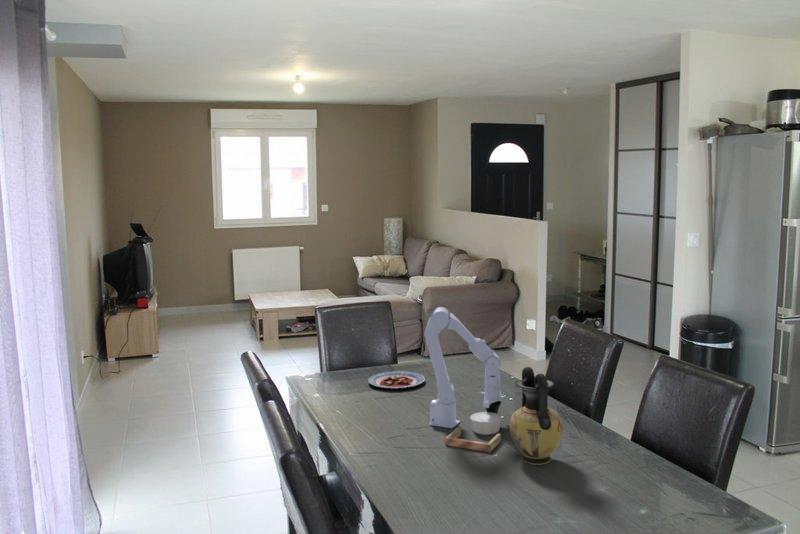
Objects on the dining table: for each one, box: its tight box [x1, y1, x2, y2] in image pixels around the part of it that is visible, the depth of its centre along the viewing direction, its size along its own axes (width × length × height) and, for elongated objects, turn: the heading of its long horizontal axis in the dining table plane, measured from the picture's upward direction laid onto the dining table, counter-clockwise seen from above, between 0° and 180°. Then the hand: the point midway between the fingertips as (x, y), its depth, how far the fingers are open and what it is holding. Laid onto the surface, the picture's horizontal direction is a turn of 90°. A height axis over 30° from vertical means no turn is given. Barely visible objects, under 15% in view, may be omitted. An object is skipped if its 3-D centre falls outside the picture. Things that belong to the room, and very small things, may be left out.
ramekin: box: [469, 411, 503, 436], centre depth 253 cm, size 11×11×5 cm
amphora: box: [509, 366, 564, 466], centre depth 225 cm, size 18×17×30 cm
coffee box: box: [514, 379, 522, 412], centre depth 257 cm, size 9×6×16 cm
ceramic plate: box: [367, 370, 426, 390], centre depth 316 cm, size 26×26×3 cm
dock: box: [444, 427, 502, 453], centre depth 242 cm, size 16×11×2 cm
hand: (492, 420), depth 260 cm, fingers closed
